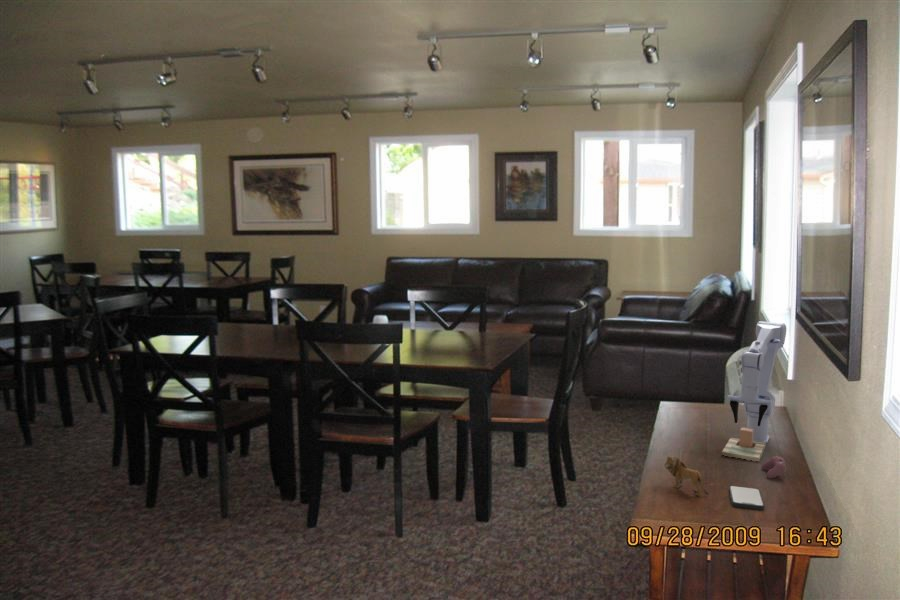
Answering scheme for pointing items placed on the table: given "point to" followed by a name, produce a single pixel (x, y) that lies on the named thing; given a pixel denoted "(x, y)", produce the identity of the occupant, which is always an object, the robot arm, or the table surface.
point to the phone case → (746, 498)
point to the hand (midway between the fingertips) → (747, 423)
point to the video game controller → (774, 466)
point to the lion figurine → (684, 474)
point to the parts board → (744, 450)
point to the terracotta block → (746, 437)
